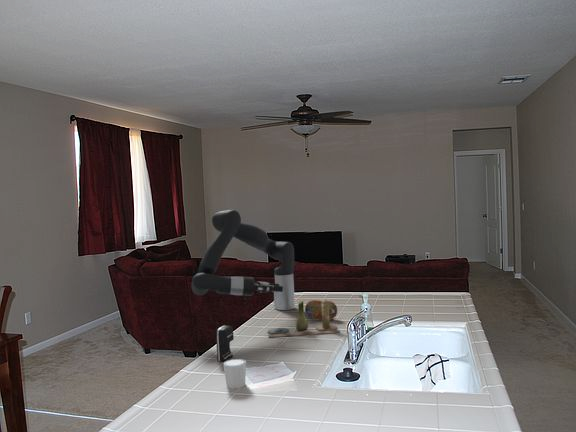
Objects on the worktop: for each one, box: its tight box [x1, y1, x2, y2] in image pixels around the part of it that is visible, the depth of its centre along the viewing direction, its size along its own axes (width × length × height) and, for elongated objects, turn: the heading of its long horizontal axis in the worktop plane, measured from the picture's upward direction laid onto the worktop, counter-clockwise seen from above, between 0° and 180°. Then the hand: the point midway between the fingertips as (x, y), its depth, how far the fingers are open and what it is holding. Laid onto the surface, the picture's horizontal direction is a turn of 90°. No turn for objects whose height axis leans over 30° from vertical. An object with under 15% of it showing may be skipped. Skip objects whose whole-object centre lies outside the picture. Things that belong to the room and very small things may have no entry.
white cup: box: [223, 358, 247, 390], centre depth 156 cm, size 7×7×7 cm
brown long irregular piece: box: [267, 299, 341, 339], centre depth 212 cm, size 29×12×12 cm, turn 95°
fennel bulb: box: [295, 300, 309, 332], centre depth 214 cm, size 6×5×12 cm
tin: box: [304, 300, 338, 321], centre depth 231 cm, size 15×3×8 cm, turn 62°
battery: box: [215, 325, 234, 362], centre depth 180 cm, size 7×4×11 cm, turn 158°
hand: (280, 287), depth 212 cm, fingers open, 8 cm apart
